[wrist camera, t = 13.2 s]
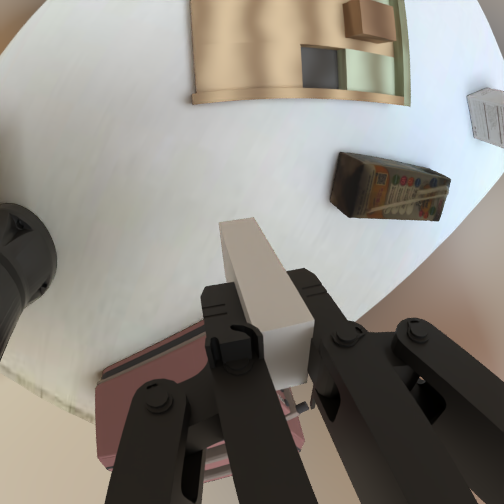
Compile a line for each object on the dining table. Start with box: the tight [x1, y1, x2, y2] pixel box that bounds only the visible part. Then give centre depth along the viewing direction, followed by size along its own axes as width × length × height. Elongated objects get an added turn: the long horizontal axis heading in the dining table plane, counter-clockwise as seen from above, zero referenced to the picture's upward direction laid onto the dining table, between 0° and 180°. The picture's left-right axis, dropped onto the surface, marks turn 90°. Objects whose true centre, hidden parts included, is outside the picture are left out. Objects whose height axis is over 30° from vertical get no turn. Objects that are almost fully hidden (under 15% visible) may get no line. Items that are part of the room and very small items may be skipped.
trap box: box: [190, 0, 411, 106], centre depth 26 cm, size 28×22×4 cm
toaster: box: [95, 320, 309, 483], centre depth 43 cm, size 19×34×20 cm, turn 117°
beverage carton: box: [330, 152, 451, 221], centre depth 39 cm, size 8×19×7 cm, turn 85°
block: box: [342, 0, 396, 44], centre depth 25 cm, size 5×5×4 cm
